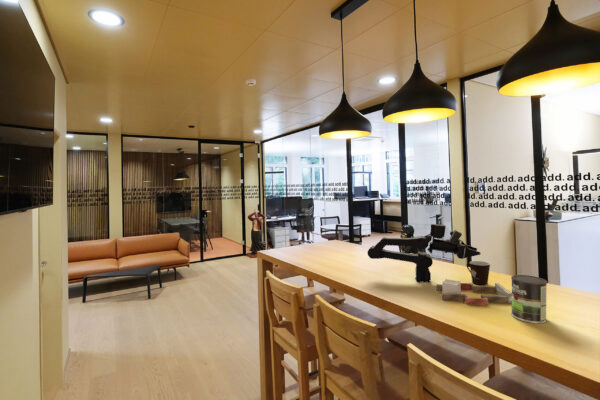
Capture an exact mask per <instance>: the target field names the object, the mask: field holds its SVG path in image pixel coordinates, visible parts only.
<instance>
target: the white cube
mask: <svg viewBox="0 0 600 400" xmlns="http://www.w3.org/2000/svg"><path fill="white" fill-rule="evenodd" d="M461 283H462V282H461V281H460V280H453V279H447V278H445V280H443V281H442V291H441V292H442V293H449V294H462V292H461ZM442 293H441V294H442Z"/></svg>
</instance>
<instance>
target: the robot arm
mask: <svg viewBox="0 0 600 400" xmlns="http://www.w3.org/2000/svg"><path fill="white" fill-rule="evenodd" d="M446 228H447V226H446V225H445V224H441V223H438V224H437V223H434V224H433V223H431V224H430V232H429V233H428V234H426V235H418V236H414V237H387V236H385V237H384V236H383V237H382V238H381V239H380V240H379V242H377V243H376V244H375V245H371V246H370V247H369V249H368V250H367V256H368V257H369V259H372V260H377V259H379V260H380V259H390V260H394V261H395V260H396V261H403V262H407V263H414V264H415V277H414V280H415V281H416V282H417V283H431V280H432V279H431V277H432V274H431V271H430V267H432V265H433V264H434V263H433V257H432V256H431V255H432V254H433V251H438V252H442V253H445V254H448V253H450V254H453V255H455V256H456V257H457V258H458V259H461V260H463V259H467V258H471V257H472V258H473V257H475V256H480V255H481V252H480V251H478V248H477V247H475V246H472V245H468V244H466V243H465V242H464V241H463V240H461V237H462V235H463V233H462V232H460V231H458V230H456V229H454V230H451V231H450V232H449V235H450V237H449V239H443V238H444V237H445V235H446V234H445V233H446ZM386 246H392V247H393V246H398V247H412V248H414V249H418V250H426V249H427V251H428V252H429V253H427V252H426V251H425V252H424V251H423V252H422V251H418V250H417V253H409V252H408V253H407V252H399V251H394V250H388V249H385V247H386Z"/></svg>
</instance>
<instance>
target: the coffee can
mask: <svg viewBox="0 0 600 400" xmlns="http://www.w3.org/2000/svg"><path fill="white" fill-rule="evenodd" d="M510 279H511V293H512V303H511V313H510V314H511V316H512V317H513V318H515V319H516V320H519V321H522V322H525V323H530V324H544V323H546V322H547V320H548V319H547V284H548V282H547V280H546V279H544V278H541V277H538V276H535V275H533V276H532V275H529V274H528V275H527V274H526V275H525V274H516V275H512V276H511V278H510Z"/></svg>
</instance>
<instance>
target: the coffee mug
mask: <svg viewBox="0 0 600 400" xmlns="http://www.w3.org/2000/svg"><path fill="white" fill-rule="evenodd" d="M490 267H491V263H489V262H487V261H482V260H472V261H471V260H470V261H469V262H467V263H466V268H467V270H468V272H469V273H470V275H471V283H472V284H473V285H474V286H487V285H488V284H489V276H490Z"/></svg>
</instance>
